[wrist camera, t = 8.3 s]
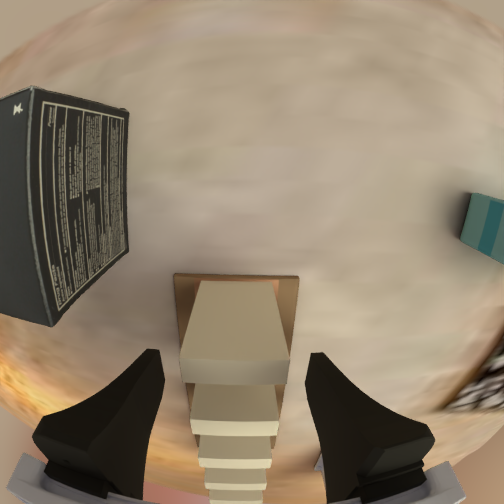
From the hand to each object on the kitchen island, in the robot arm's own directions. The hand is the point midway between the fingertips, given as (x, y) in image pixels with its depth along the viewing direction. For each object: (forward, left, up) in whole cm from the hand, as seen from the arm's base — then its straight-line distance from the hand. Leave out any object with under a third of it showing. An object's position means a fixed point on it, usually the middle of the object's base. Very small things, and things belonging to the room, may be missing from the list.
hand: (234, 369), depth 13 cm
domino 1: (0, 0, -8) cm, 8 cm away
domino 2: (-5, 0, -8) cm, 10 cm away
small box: (+8, +11, -9) cm, 16 cm away
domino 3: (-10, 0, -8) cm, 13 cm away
